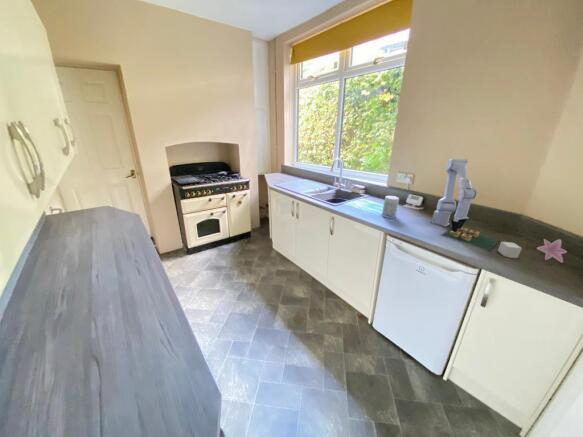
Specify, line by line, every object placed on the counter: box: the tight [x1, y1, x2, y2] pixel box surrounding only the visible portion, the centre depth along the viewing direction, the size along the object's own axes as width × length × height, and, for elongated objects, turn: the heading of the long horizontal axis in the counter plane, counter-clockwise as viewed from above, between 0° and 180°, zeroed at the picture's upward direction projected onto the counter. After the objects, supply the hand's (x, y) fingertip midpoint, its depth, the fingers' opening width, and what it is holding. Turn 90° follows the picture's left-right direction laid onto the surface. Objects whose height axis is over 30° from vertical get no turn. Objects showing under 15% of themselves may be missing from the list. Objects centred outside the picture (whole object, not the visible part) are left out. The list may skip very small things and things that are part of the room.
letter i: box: [457, 226, 469, 234], centre depth 150 cm, size 4×4×2 cm
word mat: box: [442, 228, 499, 251], centre depth 143 cm, size 24×20×1 cm
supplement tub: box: [381, 195, 400, 219], centre depth 172 cm, size 10×10×15 cm
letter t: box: [468, 229, 480, 237], centre depth 146 cm, size 4×4×2 cm
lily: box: [536, 238, 568, 264], centre depth 122 cm, size 12×12×10 cm
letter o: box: [460, 233, 472, 241], centre depth 140 cm, size 4×4×2 cm
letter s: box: [449, 231, 461, 237], centre depth 145 cm, size 4×4×2 cm
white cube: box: [497, 241, 523, 259], centre depth 124 cm, size 6×6×6 cm
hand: (456, 229), depth 144 cm, fingers open, 7 cm apart
